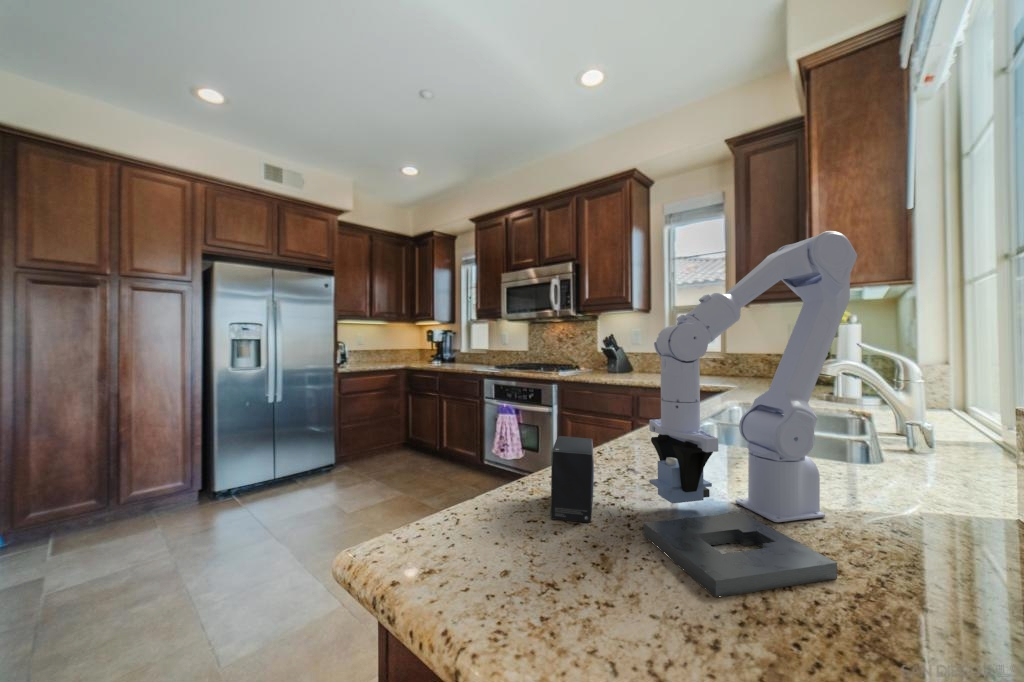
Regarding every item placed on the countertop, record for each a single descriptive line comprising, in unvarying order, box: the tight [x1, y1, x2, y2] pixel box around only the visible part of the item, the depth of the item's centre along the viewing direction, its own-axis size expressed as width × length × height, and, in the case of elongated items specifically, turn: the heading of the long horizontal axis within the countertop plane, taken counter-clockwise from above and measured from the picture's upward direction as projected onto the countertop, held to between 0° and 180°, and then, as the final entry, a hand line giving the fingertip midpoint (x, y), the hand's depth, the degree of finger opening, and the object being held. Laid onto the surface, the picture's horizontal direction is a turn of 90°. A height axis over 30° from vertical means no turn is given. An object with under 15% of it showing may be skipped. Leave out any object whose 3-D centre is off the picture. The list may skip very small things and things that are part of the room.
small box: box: [549, 435, 595, 523], centre depth 65 cm, size 11×6×10 cm, turn 168°
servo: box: [648, 457, 713, 505], centre depth 64 cm, size 9×4×6 cm, turn 103°
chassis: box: [642, 511, 838, 598], centre depth 51 cm, size 16×14×2 cm
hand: (680, 486), depth 64 cm, fingers closed on servo, 4 cm apart
